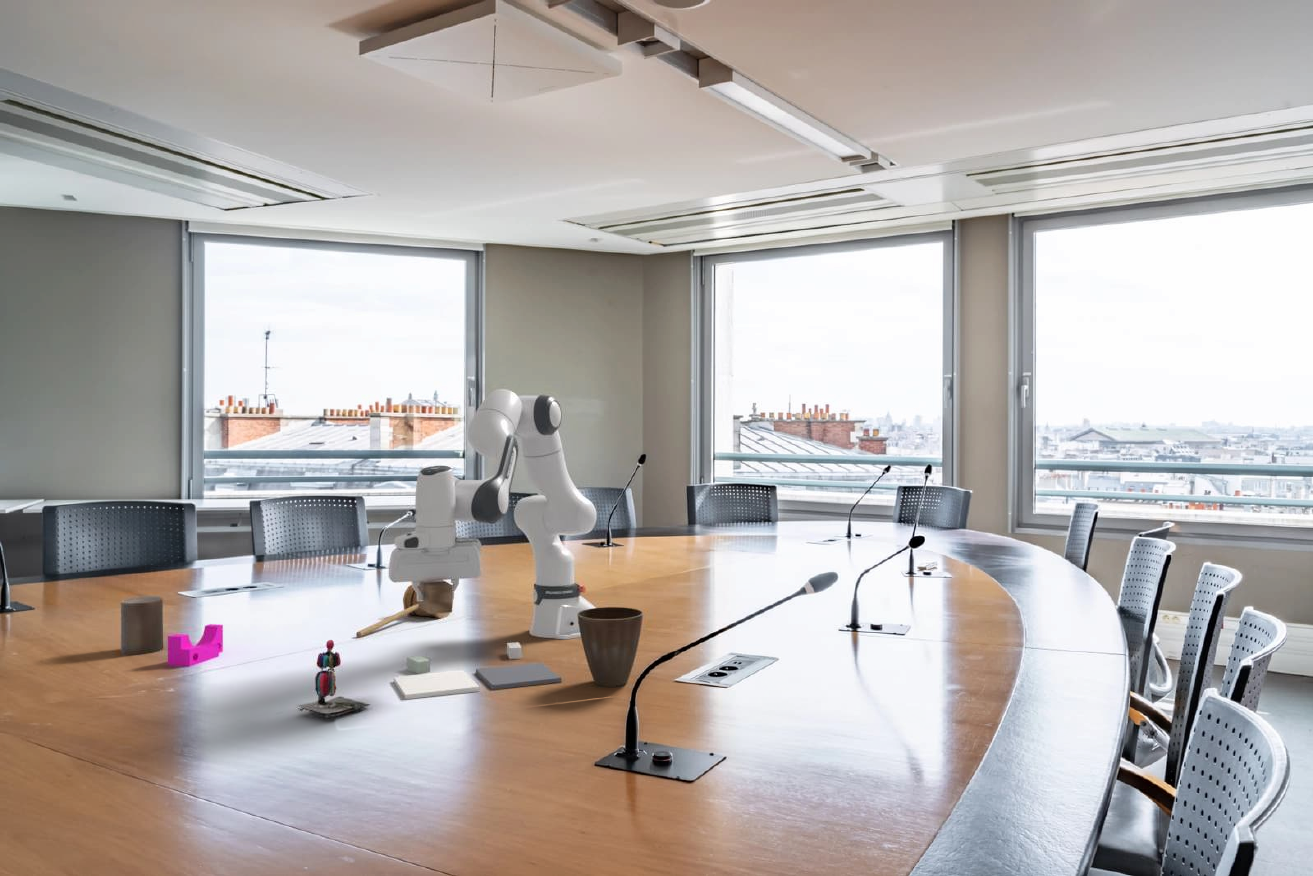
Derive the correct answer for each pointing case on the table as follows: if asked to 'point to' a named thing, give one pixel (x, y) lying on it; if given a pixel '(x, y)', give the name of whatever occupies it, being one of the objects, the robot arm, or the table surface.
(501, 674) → the charcoal mat
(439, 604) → the walnut brick
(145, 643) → the pillar candle
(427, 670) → the sage brick
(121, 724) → the table surface
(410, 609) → the mallet
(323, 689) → the statue
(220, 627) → the magenta cradle bracket
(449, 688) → the off-white mat
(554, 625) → the robot arm
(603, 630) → the plant pot
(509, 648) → the pale grey brick
